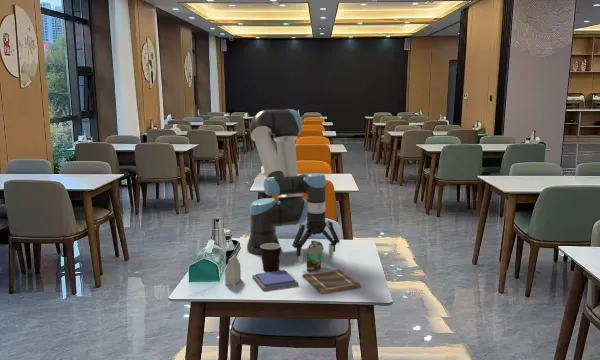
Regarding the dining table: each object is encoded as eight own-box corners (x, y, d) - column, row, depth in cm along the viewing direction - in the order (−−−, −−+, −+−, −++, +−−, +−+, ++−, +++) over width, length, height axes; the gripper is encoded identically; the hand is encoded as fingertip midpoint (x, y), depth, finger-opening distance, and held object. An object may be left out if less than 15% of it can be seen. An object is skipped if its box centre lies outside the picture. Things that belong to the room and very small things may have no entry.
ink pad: (252, 278, 207) (252, 273, 206) (285, 273, 212) (285, 268, 211) (262, 290, 194) (262, 285, 193) (298, 285, 199) (298, 280, 198)
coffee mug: (275, 274, 211) (275, 250, 209) (256, 271, 214) (256, 247, 213) (288, 265, 221) (288, 242, 220) (270, 262, 225) (269, 240, 223)
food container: (321, 273, 212) (321, 249, 210) (306, 272, 213) (306, 248, 211) (325, 263, 224) (325, 240, 222) (311, 262, 225) (311, 240, 223)
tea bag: (240, 279, 206) (240, 254, 204) (234, 285, 199) (233, 260, 198) (231, 278, 207) (231, 254, 205) (225, 284, 200) (224, 259, 198)
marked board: (302, 276, 208) (302, 273, 208) (339, 271, 214) (339, 268, 214) (321, 293, 191) (321, 290, 191) (360, 287, 196) (360, 284, 196)
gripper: (290, 216, 206) (290, 268, 210) (347, 210, 215) (347, 260, 219) (284, 212, 213) (284, 262, 217) (339, 207, 222) (339, 255, 226)
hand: (316, 261), depth 218 cm, fingers open, 13 cm apart
